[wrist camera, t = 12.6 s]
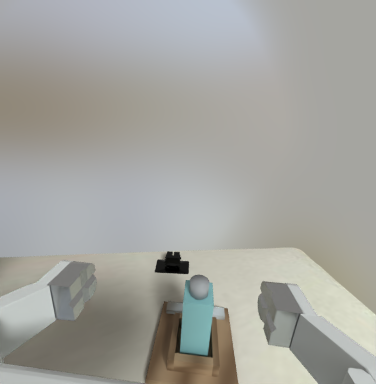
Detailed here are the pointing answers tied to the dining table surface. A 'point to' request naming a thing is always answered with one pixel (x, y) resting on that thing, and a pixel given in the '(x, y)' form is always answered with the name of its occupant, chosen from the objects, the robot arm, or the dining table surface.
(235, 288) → the dining table surface
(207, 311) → the teal bottle
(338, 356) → the robot arm
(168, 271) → the black block on base
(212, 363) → the jig
